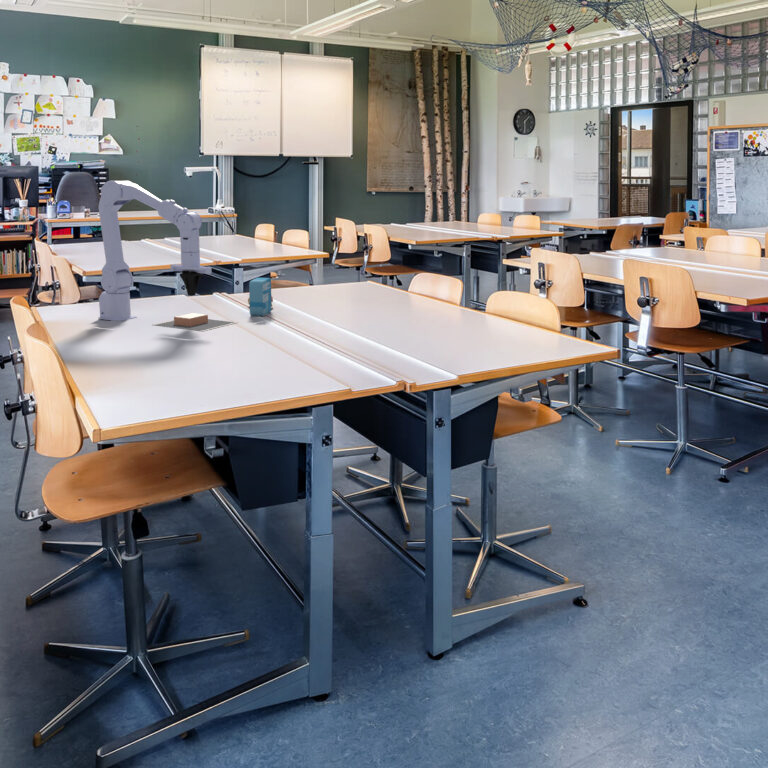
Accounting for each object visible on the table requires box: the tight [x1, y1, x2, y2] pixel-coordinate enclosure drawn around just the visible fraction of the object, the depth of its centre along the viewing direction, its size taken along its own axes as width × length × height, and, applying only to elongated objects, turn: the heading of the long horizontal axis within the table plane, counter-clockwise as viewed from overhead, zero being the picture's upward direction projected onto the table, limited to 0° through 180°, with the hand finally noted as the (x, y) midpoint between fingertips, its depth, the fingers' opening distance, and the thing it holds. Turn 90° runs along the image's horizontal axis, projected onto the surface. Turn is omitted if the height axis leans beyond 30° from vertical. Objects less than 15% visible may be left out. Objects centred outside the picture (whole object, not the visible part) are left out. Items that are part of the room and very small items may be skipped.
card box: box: [173, 312, 209, 326], centre depth 261 cm, size 2×9×6 cm
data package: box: [248, 277, 272, 317], centre depth 283 cm, size 12×4×12 cm, turn 173°
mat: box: [152, 318, 239, 333], centre depth 261 cm, size 20×18×1 cm
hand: (191, 295), depth 259 cm, fingers closed
